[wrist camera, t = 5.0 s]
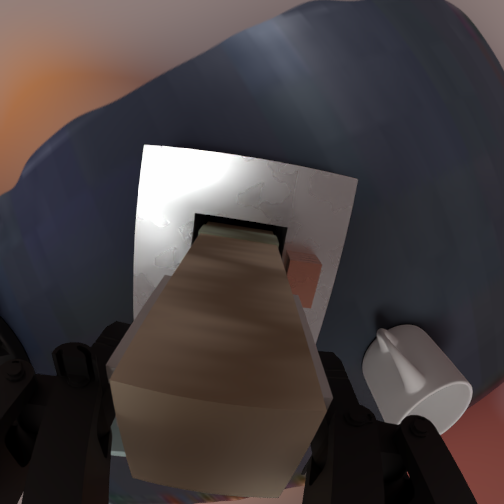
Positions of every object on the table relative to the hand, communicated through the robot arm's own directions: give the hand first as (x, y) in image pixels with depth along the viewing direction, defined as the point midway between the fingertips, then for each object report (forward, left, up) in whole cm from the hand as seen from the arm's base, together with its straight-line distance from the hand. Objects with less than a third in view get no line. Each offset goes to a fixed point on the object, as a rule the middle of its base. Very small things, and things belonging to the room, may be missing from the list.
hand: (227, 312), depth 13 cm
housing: (0, 0, -13) cm, 13 cm away
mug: (+18, -9, -13) cm, 24 cm away
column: (0, 0, -8) cm, 8 cm away
